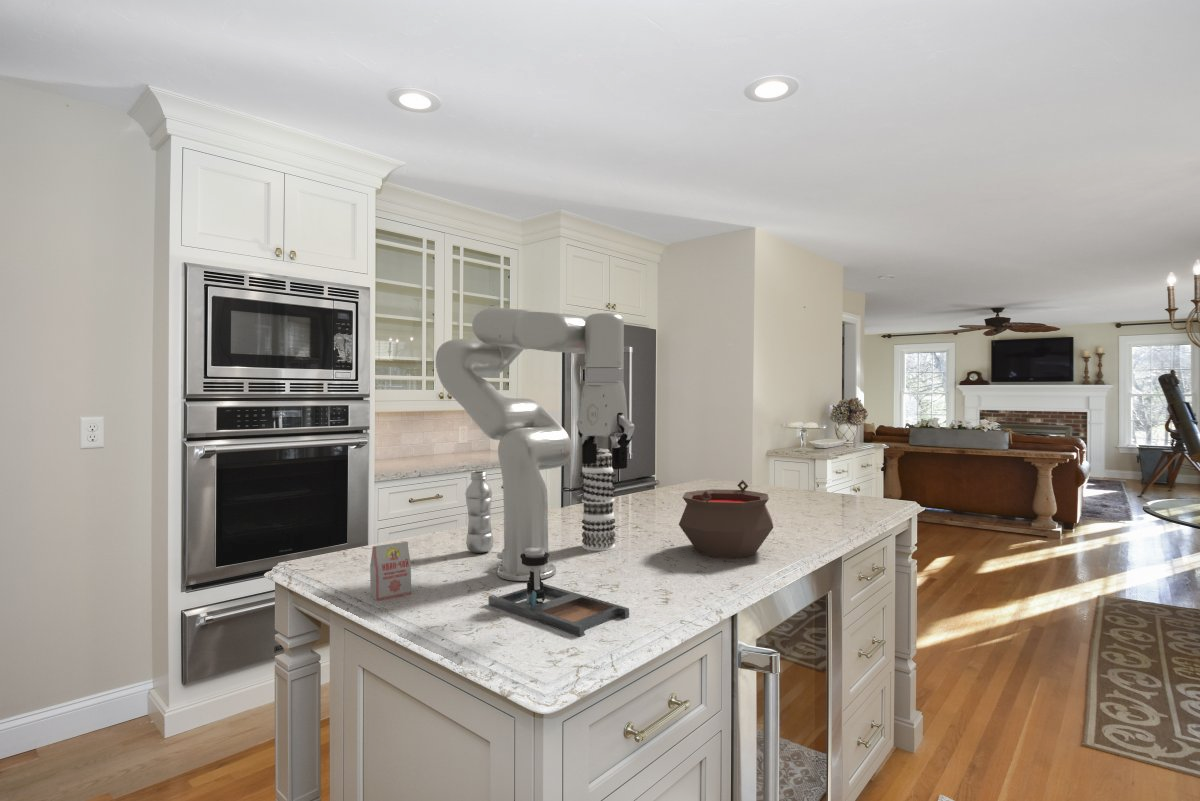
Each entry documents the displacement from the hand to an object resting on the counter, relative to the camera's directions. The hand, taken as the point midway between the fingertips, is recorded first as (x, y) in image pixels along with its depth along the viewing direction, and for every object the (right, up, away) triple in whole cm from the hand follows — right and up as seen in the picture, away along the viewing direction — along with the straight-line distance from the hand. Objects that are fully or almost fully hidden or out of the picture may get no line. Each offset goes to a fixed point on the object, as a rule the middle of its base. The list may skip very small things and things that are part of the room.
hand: (604, 466), depth 123 cm
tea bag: (-42, -26, +1) cm, 49 cm away
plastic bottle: (-31, -25, +35) cm, 53 cm away
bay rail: (-9, -25, -10) cm, 28 cm away
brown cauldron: (+30, -24, +32) cm, 50 cm away
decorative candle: (-1, -25, +38) cm, 46 cm away
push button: (-13, -25, -6) cm, 29 cm away
